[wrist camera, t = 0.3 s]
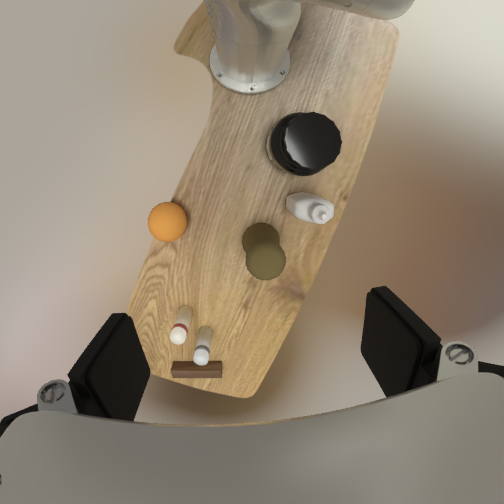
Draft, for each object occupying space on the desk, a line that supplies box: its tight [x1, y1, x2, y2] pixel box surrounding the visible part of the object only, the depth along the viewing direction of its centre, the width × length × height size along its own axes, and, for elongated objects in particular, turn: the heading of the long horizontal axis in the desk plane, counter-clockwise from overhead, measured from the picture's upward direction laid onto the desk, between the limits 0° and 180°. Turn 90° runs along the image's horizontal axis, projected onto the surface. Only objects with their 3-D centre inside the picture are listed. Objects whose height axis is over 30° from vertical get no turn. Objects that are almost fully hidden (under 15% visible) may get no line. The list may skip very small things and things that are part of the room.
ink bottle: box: [266, 112, 342, 176], centre depth 34 cm, size 10×9×12 cm
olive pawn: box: [242, 223, 286, 280], centre depth 39 cm, size 6×6×11 cm
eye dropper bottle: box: [286, 192, 334, 224], centre depth 37 cm, size 4×6×12 cm
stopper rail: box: [171, 361, 222, 378], centre depth 51 cm, size 2×10×3 cm, turn 93°
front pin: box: [170, 306, 193, 344], centre depth 44 cm, size 2×2×8 cm
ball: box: [148, 202, 187, 242], centre depth 40 cm, size 6×6×6 cm
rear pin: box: [193, 326, 212, 365], centre depth 45 cm, size 2×2×8 cm
